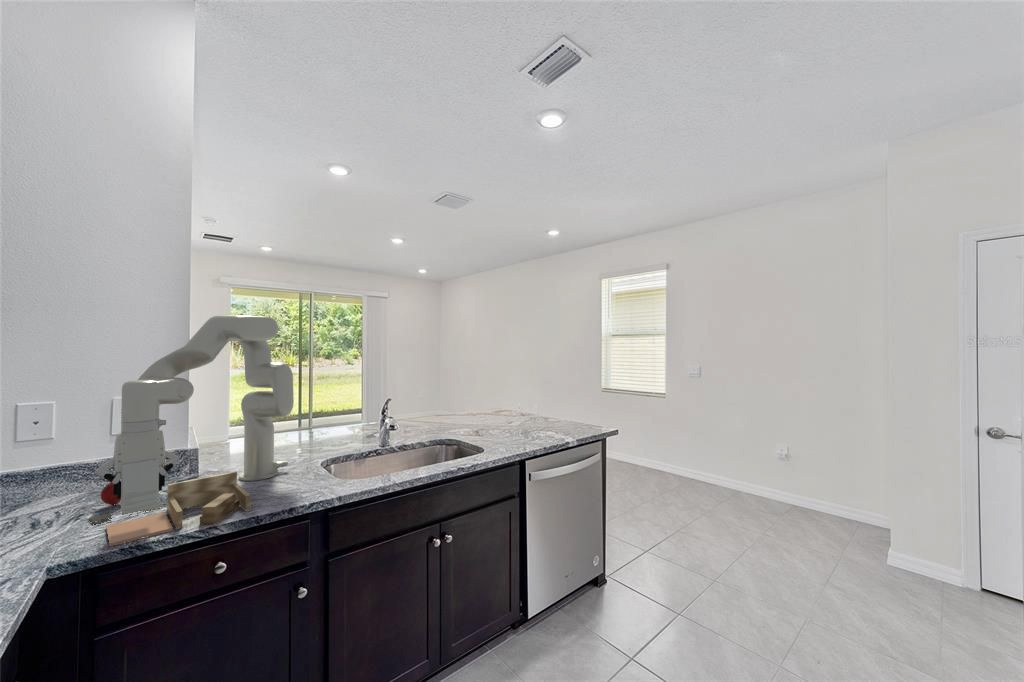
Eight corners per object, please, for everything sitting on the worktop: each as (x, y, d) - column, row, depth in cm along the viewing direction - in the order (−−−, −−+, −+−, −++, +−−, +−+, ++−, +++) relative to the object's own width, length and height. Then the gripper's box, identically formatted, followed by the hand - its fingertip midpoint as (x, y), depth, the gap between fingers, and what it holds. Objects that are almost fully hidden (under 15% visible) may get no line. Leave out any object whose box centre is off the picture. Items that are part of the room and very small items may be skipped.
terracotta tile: (164, 515, 119) (164, 512, 119) (172, 530, 109) (172, 527, 109) (106, 528, 110) (106, 525, 110) (109, 546, 100) (109, 543, 100)
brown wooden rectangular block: (226, 508, 124) (226, 491, 124) (239, 508, 125) (239, 491, 125) (199, 526, 112) (199, 507, 112) (213, 525, 113) (213, 507, 113)
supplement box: (156, 500, 115) (157, 454, 115) (158, 507, 109) (159, 460, 109) (119, 507, 109) (120, 459, 109) (120, 515, 104) (121, 465, 104)
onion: (110, 510, 122) (110, 483, 122) (95, 508, 123) (95, 481, 123) (132, 502, 128) (132, 476, 128) (117, 501, 129) (117, 475, 129)
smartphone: (163, 506, 123) (93, 524, 111) (163, 509, 123) (93, 527, 111) (155, 501, 128) (87, 518, 115) (155, 503, 128) (87, 521, 115)
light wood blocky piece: (235, 495, 134) (235, 471, 134) (250, 510, 123) (250, 483, 123) (167, 511, 121) (167, 484, 121) (176, 529, 110) (177, 499, 110)
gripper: (179, 420, 118) (178, 482, 118) (93, 429, 106) (92, 498, 106) (184, 424, 113) (183, 488, 113) (94, 434, 101) (93, 506, 100)
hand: (139, 492), depth 109 cm, fingers closed on supplement box, 7 cm apart
